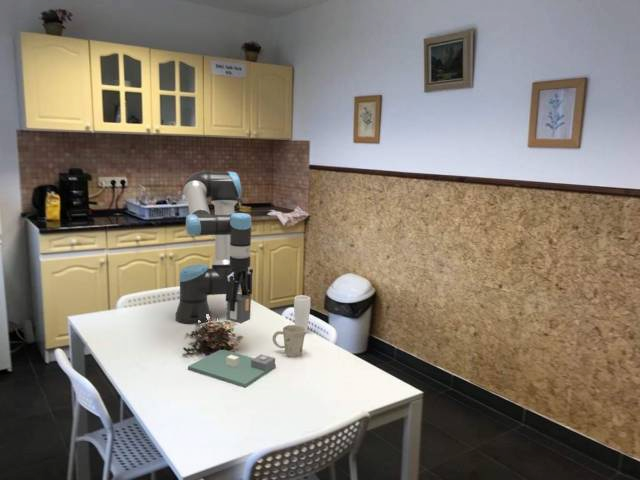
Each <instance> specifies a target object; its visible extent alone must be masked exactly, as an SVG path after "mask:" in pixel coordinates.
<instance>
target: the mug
mask: <svg viewBox="0 0 640 480" xmlns="http://www.w3.org/2000/svg"><path fill="white" fill-rule="evenodd" d="M278 335H283V343H284V345H280V344H279V343H278V342H277V339H276V338H277V336H278ZM305 336H306V333H305V328H304V327H303V326H299V325H295V324H290V325H286V326H285V325H284V326H283V328H282V330H277V331H275V332H274V333H273V335H272V339H271V340H272V342H273V345H275V346H276V347H277V348H279V349H284V354H285V355H286V356H287V357H289V358H298V357H300V356H301V355H302V353H303V346H304V341H305Z"/></svg>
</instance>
